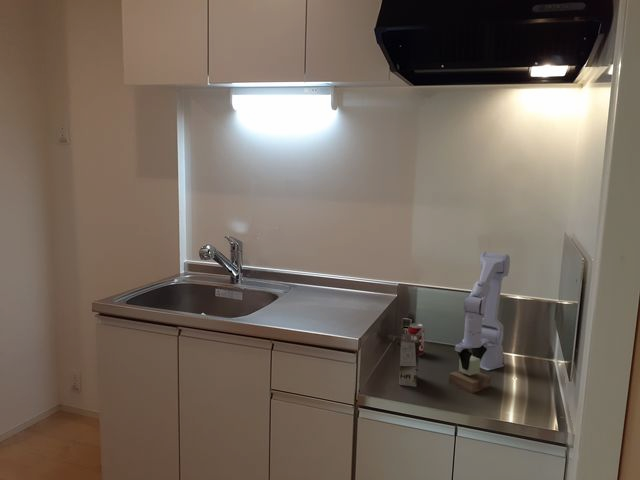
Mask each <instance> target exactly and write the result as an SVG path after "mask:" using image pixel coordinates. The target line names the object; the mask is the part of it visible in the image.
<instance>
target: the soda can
mask: <svg viewBox="0 0 640 480" xmlns="http://www.w3.org/2000/svg"><path fill="white" fill-rule="evenodd" d="M425 332H426V330H425V328H424V324H421V323H415V322H414V323H410V324H409V327H408V328H407V334H415V335H419V356H422V355H424V353H425V338H426V337H425V335H426V333H425Z"/></svg>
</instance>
